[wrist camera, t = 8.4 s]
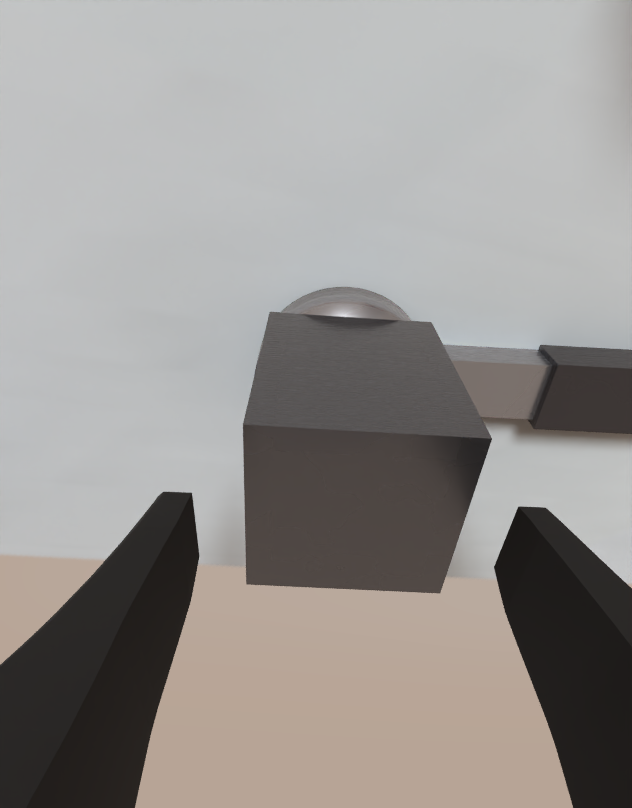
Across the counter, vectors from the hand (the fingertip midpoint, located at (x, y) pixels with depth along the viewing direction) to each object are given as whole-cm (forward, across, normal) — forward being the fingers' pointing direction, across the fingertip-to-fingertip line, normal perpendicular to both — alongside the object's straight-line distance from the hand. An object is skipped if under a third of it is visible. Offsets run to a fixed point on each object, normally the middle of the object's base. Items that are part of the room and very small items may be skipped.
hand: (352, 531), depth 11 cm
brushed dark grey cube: (+6, 0, 0) cm, 6 cm away
